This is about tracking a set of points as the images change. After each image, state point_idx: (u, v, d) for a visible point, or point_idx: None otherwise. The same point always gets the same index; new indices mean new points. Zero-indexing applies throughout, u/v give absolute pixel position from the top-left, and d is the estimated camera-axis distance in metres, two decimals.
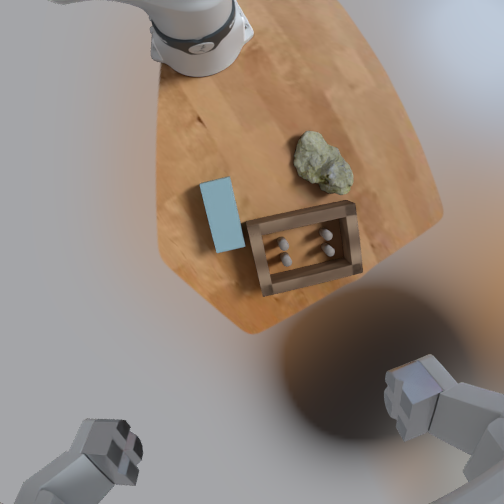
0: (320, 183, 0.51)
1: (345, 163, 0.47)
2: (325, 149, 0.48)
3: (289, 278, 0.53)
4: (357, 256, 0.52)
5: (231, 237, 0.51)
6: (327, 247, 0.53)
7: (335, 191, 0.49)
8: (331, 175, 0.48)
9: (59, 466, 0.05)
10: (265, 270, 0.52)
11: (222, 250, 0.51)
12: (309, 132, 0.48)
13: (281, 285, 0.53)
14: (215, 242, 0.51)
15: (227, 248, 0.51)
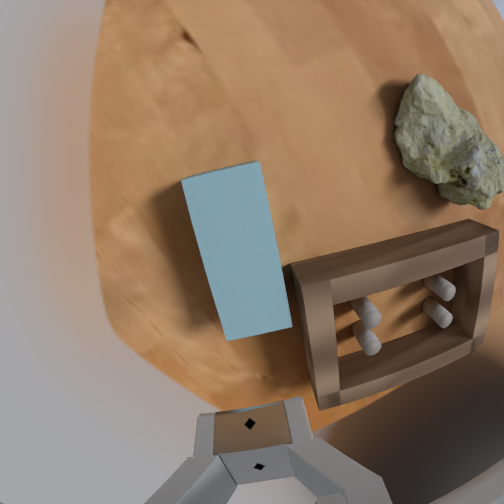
0: (444, 184, 0.21)
1: (495, 146, 0.17)
2: (455, 114, 0.18)
3: (371, 376, 0.24)
4: (482, 324, 0.23)
5: (261, 309, 0.21)
6: (441, 311, 0.24)
7: (475, 202, 0.19)
8: (475, 169, 0.18)
9: (189, 477, 0.05)
10: (331, 370, 0.22)
11: (240, 335, 0.22)
12: (425, 76, 0.18)
13: (356, 391, 0.24)
14: (223, 319, 0.21)
15: (251, 331, 0.22)
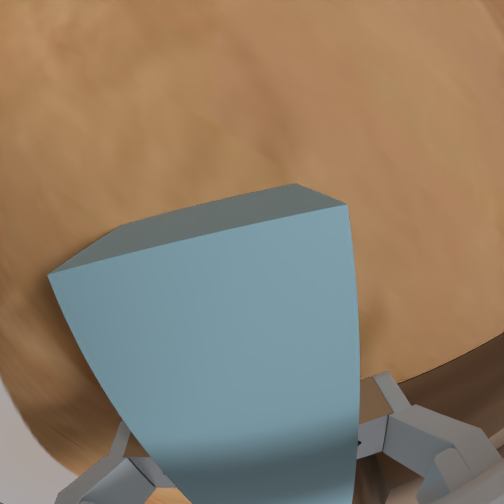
0: None
1: None
2: None
3: None
4: None
5: None
6: None
7: None
8: None
9: (99, 473, 0.05)
10: None
11: None
12: None
13: None
14: None
15: None
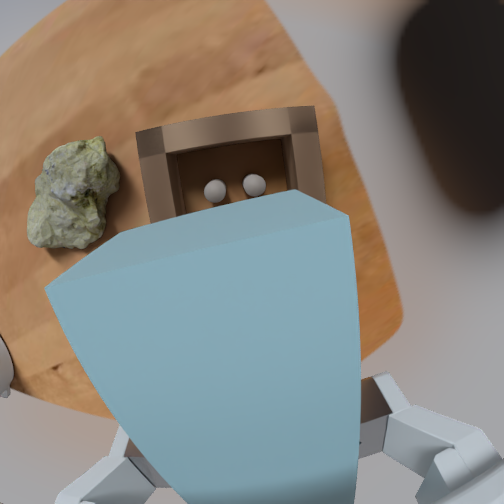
0: (102, 197, 0.23)
1: (43, 166, 0.19)
2: (42, 201, 0.22)
3: None
4: (271, 119, 0.20)
5: None
6: None
7: (101, 172, 0.20)
8: (69, 191, 0.20)
9: (100, 473, 0.05)
10: None
11: None
12: (27, 233, 0.23)
13: None
14: None
15: None
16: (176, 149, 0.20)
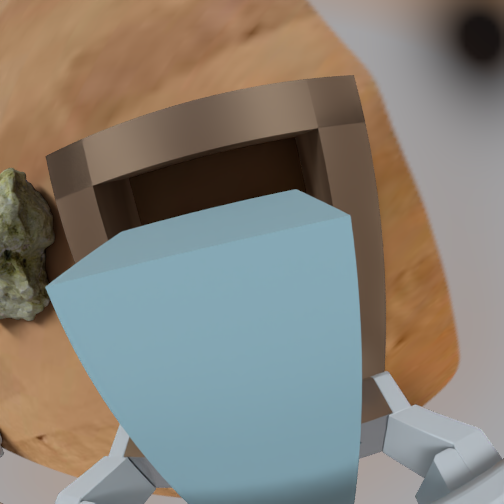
0: (32, 256, 0.14)
1: None
2: None
3: None
4: (278, 103, 0.10)
5: None
6: None
7: (15, 225, 0.11)
8: None
9: (100, 473, 0.05)
10: None
11: None
12: None
13: None
14: None
15: None
16: (109, 177, 0.11)
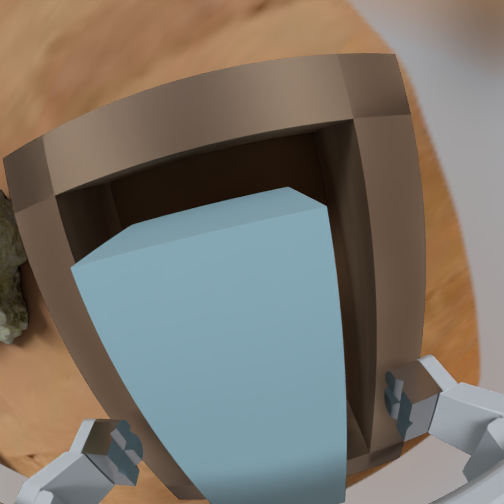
0: (4, 276, 0.11)
1: None
2: None
3: (369, 409, 0.11)
4: (300, 83, 0.07)
5: (294, 496, 0.08)
6: None
7: None
8: None
9: (59, 466, 0.05)
10: None
11: None
12: None
13: (384, 433, 0.11)
14: None
15: None
16: (74, 184, 0.08)
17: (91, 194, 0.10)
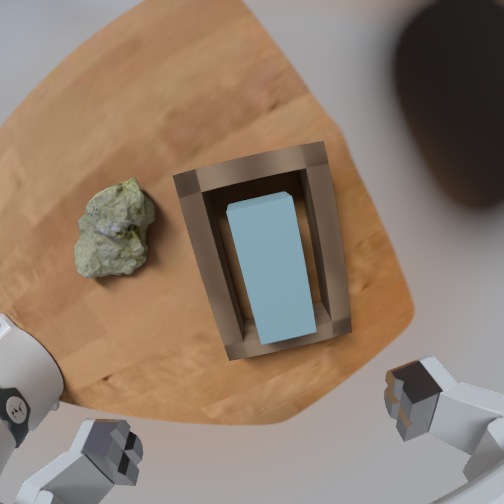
0: (142, 229, 0.28)
1: (86, 209, 0.24)
2: (87, 239, 0.27)
3: (326, 291, 0.28)
4: (288, 157, 0.24)
5: (291, 318, 0.25)
6: None
7: (140, 209, 0.26)
8: (114, 228, 0.25)
9: (59, 466, 0.05)
10: None
11: (272, 340, 0.26)
12: (76, 267, 0.29)
13: (336, 307, 0.28)
14: (259, 327, 0.25)
15: (282, 336, 0.26)
16: (210, 188, 0.25)
17: (205, 192, 0.27)
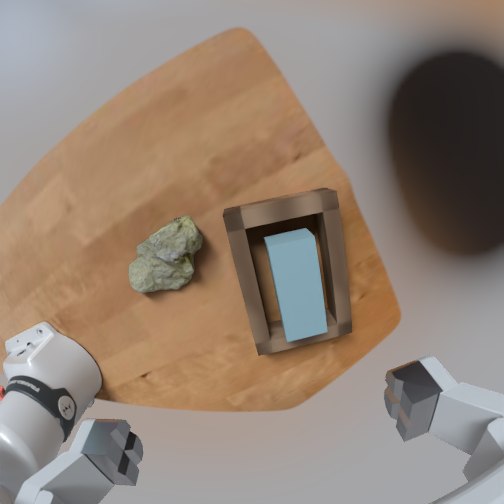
0: (192, 254, 0.37)
1: (149, 240, 0.33)
2: (144, 261, 0.36)
3: (333, 301, 0.37)
4: (310, 203, 0.33)
5: (310, 321, 0.34)
6: None
7: (195, 241, 0.34)
8: (173, 256, 0.34)
9: (59, 466, 0.05)
10: None
11: (295, 338, 0.34)
12: (131, 283, 0.37)
13: (341, 313, 0.37)
14: (286, 328, 0.34)
15: (302, 335, 0.34)
16: (251, 226, 0.33)
17: None
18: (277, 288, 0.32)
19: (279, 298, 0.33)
